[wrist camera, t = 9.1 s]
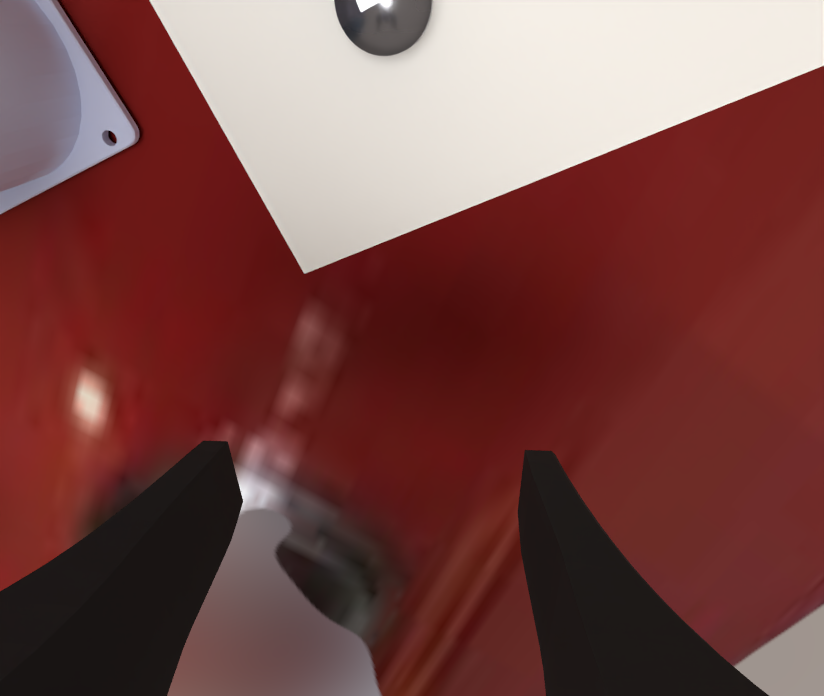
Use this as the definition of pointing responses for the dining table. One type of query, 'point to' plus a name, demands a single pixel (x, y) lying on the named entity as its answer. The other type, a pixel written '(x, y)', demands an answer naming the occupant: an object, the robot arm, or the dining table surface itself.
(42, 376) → the dining table surface
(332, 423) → the dining table surface
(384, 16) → the bar
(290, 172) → the frame slab
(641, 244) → the dining table surface
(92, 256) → the dining table surface
